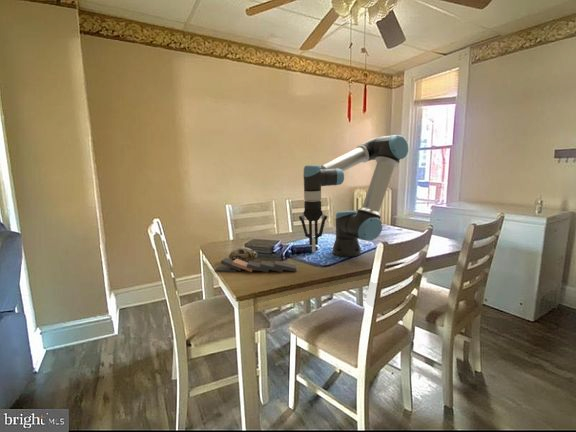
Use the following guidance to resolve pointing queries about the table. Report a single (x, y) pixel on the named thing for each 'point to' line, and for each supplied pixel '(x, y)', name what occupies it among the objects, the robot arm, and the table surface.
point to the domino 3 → (241, 264)
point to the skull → (243, 254)
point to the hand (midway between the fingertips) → (313, 251)
